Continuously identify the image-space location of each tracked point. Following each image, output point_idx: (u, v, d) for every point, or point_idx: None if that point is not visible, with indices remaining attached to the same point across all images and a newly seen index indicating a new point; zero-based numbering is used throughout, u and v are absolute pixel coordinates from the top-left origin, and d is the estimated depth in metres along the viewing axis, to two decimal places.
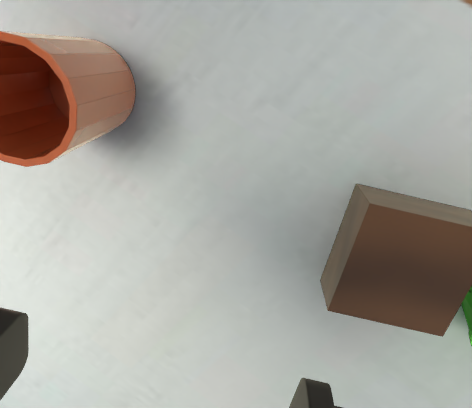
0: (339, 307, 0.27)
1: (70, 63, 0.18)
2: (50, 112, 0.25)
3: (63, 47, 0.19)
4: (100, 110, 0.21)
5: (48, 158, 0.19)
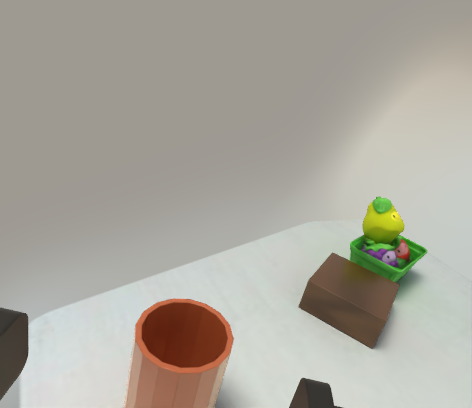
0: (382, 315, 0.39)
1: None
2: None
3: None
4: None
5: (230, 336, 0.25)
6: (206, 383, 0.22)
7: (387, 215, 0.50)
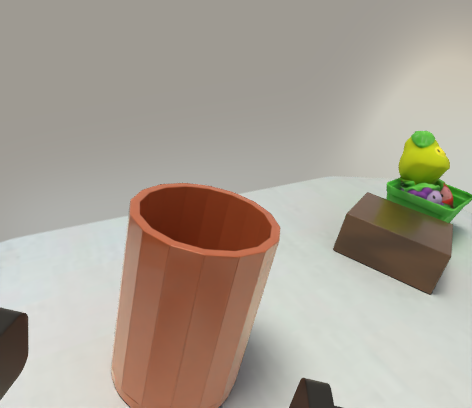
0: (444, 250, 0.31)
1: None
2: None
3: None
4: None
5: (275, 224, 0.16)
6: (244, 282, 0.14)
7: (431, 149, 0.42)
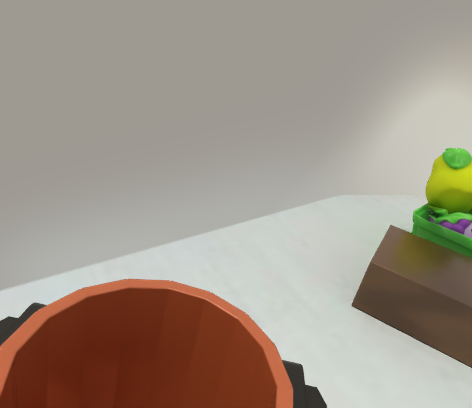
0: None
1: None
2: None
3: None
4: None
5: (283, 380, 0.09)
6: None
7: (467, 171, 0.35)
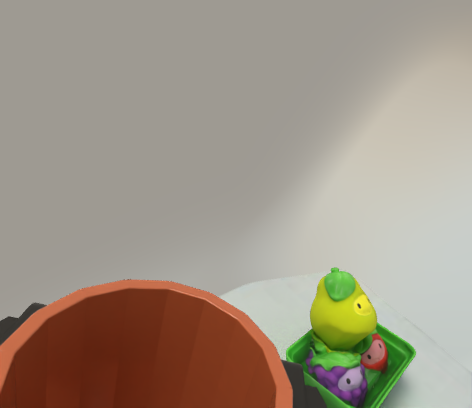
0: None
1: None
2: None
3: None
4: None
5: (282, 381, 0.09)
6: None
7: (347, 304, 0.30)
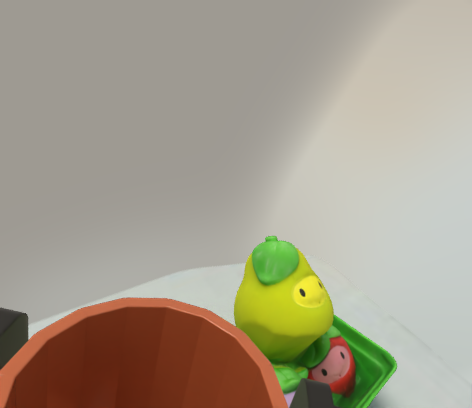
0: None
1: None
2: None
3: None
4: None
5: (279, 402, 0.09)
6: None
7: (283, 290, 0.19)
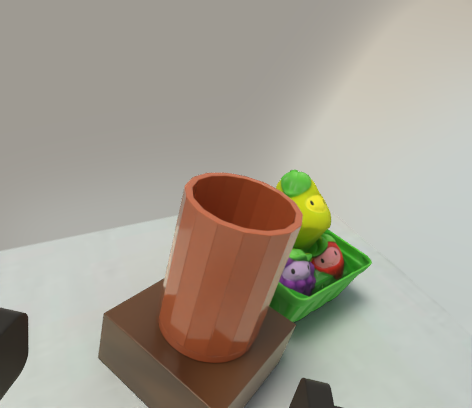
0: (220, 400, 0.19)
1: None
2: None
3: None
4: None
5: (298, 211, 0.20)
6: (273, 255, 0.18)
7: (300, 200, 0.30)
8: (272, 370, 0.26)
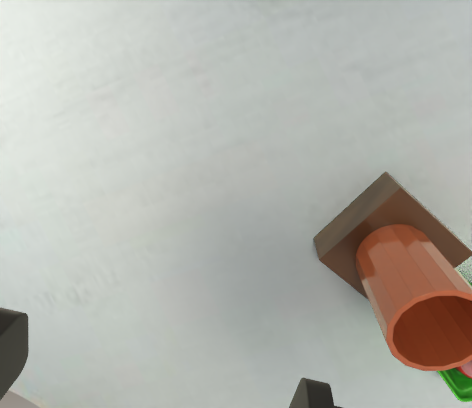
0: (329, 261, 0.32)
1: None
2: None
3: None
4: None
5: (427, 368, 0.24)
6: None
7: None
8: None
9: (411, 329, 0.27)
